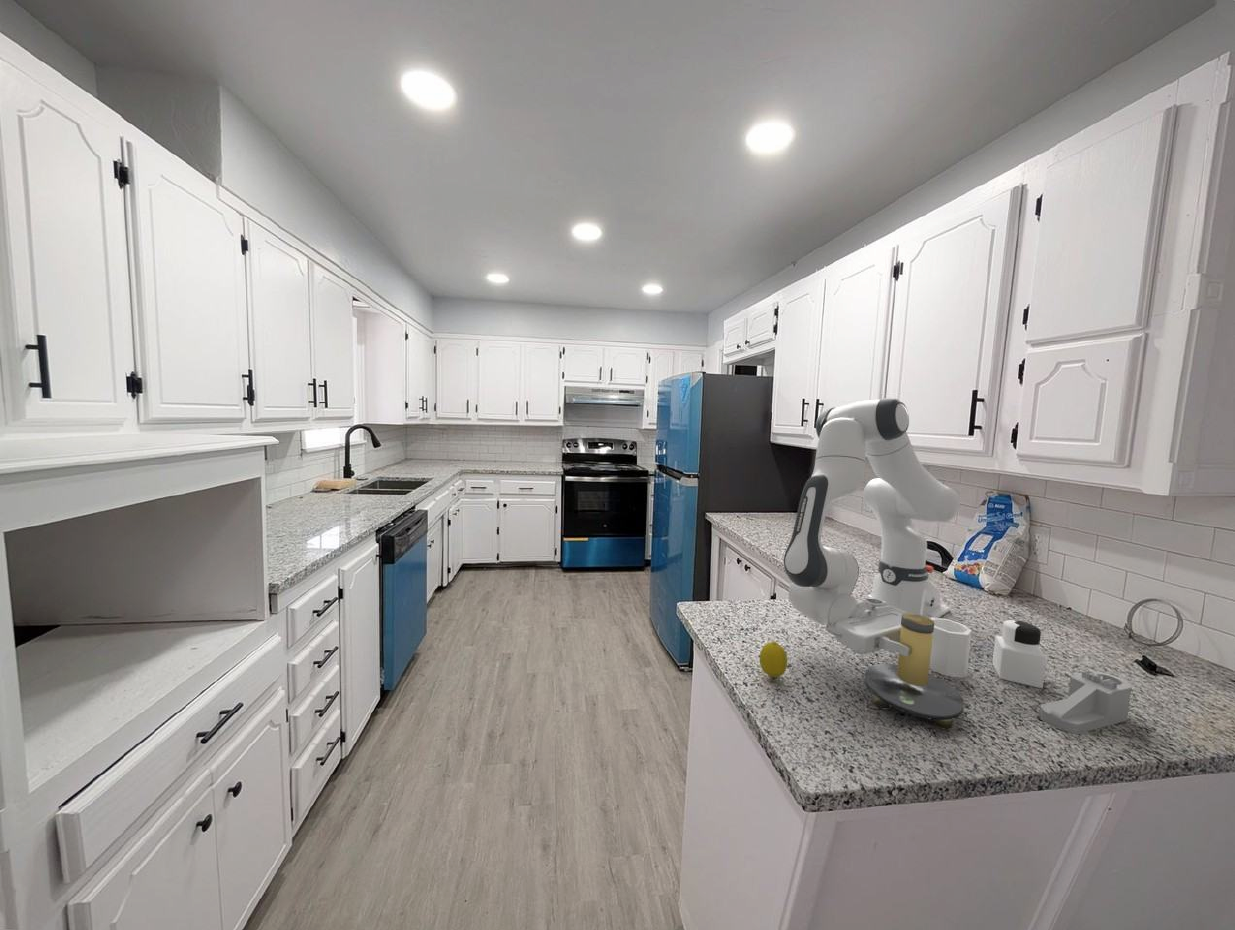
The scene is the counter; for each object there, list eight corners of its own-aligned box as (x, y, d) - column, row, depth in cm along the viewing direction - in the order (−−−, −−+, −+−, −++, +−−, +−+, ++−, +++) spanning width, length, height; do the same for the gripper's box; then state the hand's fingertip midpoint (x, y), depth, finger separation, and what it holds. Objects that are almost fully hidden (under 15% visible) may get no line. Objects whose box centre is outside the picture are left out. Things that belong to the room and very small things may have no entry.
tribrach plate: (895, 675, 96) (896, 656, 96) (980, 720, 82) (982, 698, 82) (845, 692, 90) (847, 672, 89) (929, 745, 75) (931, 721, 75)
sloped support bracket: (1033, 716, 84) (1038, 676, 83) (1094, 701, 89) (1100, 663, 88) (1071, 736, 78) (1076, 694, 78) (1134, 719, 84) (1140, 680, 83)
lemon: (754, 677, 94) (756, 641, 94) (766, 667, 98) (768, 633, 97) (778, 688, 90) (781, 651, 90) (790, 678, 94) (792, 642, 93)
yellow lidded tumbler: (906, 668, 89) (912, 611, 87) (934, 682, 84) (940, 622, 83) (890, 674, 86) (895, 615, 85) (917, 689, 82) (923, 627, 81)
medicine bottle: (1032, 673, 98) (1039, 621, 97) (1043, 689, 92) (1049, 634, 91) (991, 663, 102) (997, 614, 101) (999, 678, 96) (1005, 626, 95)
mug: (941, 655, 105) (945, 616, 104) (977, 676, 97) (982, 633, 96) (899, 660, 103) (903, 619, 102) (932, 681, 94) (937, 637, 93)
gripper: (821, 612, 92) (886, 643, 79) (884, 597, 100) (952, 623, 88) (819, 641, 92) (883, 676, 80) (882, 624, 101) (949, 653, 88)
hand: (919, 648), depth 84 cm, fingers closed on yellow lidded tumbler, 5 cm apart
